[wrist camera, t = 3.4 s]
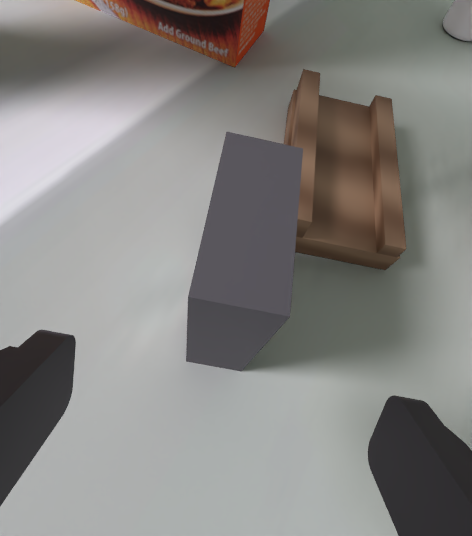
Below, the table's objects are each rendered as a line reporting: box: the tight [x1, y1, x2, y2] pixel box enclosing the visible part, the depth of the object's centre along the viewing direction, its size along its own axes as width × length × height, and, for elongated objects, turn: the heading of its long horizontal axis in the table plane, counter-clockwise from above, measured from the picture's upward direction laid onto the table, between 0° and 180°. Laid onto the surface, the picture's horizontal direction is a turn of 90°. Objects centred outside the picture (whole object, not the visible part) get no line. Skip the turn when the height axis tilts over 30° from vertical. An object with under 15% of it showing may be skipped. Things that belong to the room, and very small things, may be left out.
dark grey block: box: [186, 132, 303, 371], centre depth 18 cm, size 8×4×11 cm, turn 172°
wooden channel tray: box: [284, 69, 406, 270], centre depth 28 cm, size 16×9×4 cm, turn 172°
